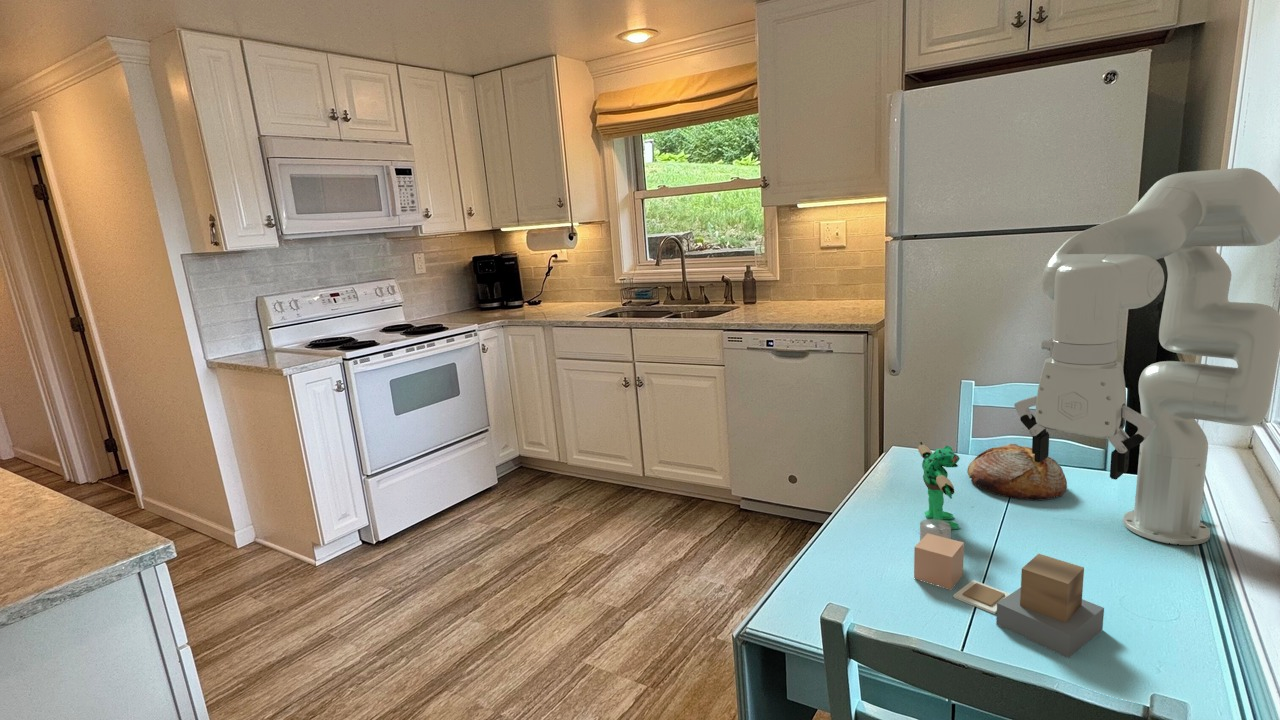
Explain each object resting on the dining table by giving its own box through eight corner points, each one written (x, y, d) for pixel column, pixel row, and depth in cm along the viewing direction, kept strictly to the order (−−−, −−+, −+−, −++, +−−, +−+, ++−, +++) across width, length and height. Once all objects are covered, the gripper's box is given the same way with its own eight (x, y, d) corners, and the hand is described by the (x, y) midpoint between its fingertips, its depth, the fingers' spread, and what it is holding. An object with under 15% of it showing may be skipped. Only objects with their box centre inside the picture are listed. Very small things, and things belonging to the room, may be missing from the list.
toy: (976, 554, 119) (979, 476, 116) (937, 553, 121) (939, 475, 118) (942, 495, 144) (943, 429, 141) (910, 494, 145) (911, 429, 142)
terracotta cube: (926, 564, 117) (927, 533, 116) (962, 574, 113) (963, 542, 112) (914, 579, 113) (914, 547, 112) (951, 590, 109) (952, 557, 108)
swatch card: (973, 582, 111) (973, 578, 111) (1014, 597, 106) (1014, 593, 106) (953, 597, 107) (953, 593, 107) (994, 614, 102) (994, 610, 102)
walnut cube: (1036, 589, 101) (1038, 553, 100) (1081, 605, 97) (1084, 567, 96) (1019, 605, 98) (1021, 568, 97) (1065, 622, 93) (1068, 583, 92)
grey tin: (928, 546, 123) (929, 516, 122) (955, 555, 119) (956, 524, 118) (914, 556, 120) (914, 525, 119) (940, 566, 117) (941, 534, 115)
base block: (1031, 602, 105) (1032, 579, 104) (1102, 632, 97) (1104, 607, 96) (996, 627, 100) (997, 603, 99) (1068, 660, 91) (1069, 634, 91)
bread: (1056, 514, 134) (1058, 469, 132) (954, 491, 148) (955, 449, 145) (1076, 483, 145) (1079, 440, 143) (980, 464, 159) (981, 425, 156)
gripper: (1005, 350, 97) (1003, 461, 101) (1150, 365, 83) (1140, 492, 87) (1029, 340, 101) (1025, 446, 105) (1169, 353, 88) (1159, 474, 91)
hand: (1077, 467), depth 96 cm, fingers open, 9 cm apart
